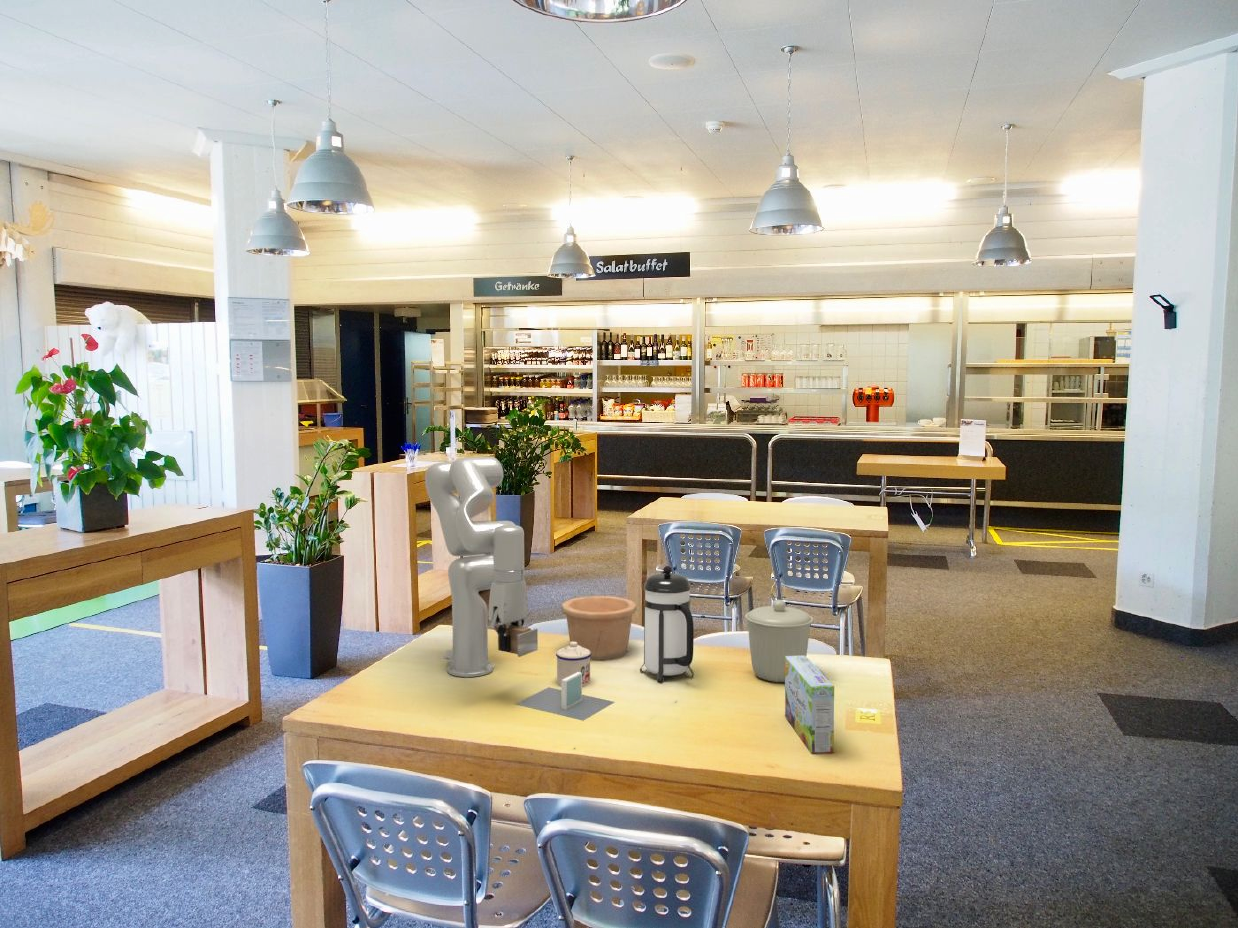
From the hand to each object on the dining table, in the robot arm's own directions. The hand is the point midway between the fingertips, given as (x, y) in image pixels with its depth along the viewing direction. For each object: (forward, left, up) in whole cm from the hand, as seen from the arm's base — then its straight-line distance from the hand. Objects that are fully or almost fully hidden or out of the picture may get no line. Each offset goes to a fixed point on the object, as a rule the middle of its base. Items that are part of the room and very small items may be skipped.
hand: (509, 648), depth 212 cm
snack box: (+70, +19, -14) cm, 74 cm away
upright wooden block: (+1, 0, -1) cm, 2 cm away
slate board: (+14, +4, -13) cm, 20 cm away
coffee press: (+25, +38, -14) cm, 47 cm away
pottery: (-3, +46, -14) cm, 48 cm away
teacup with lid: (+7, +19, -14) cm, 24 cm away
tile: (+16, +4, -12) cm, 20 cm away
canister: (+50, +53, -14) cm, 74 cm away
